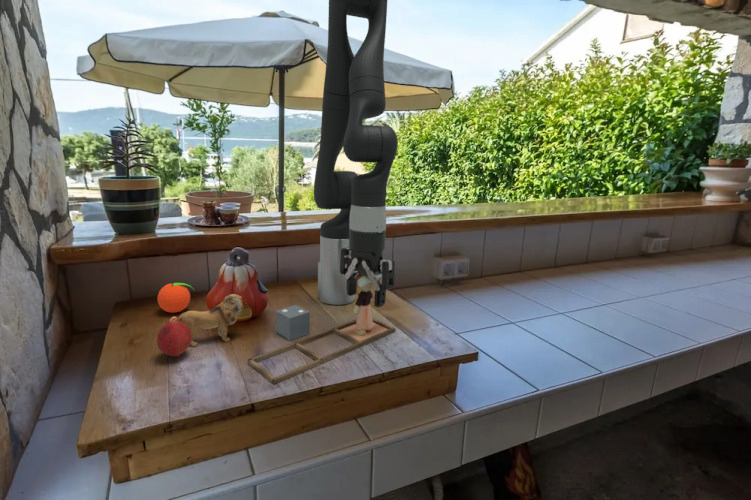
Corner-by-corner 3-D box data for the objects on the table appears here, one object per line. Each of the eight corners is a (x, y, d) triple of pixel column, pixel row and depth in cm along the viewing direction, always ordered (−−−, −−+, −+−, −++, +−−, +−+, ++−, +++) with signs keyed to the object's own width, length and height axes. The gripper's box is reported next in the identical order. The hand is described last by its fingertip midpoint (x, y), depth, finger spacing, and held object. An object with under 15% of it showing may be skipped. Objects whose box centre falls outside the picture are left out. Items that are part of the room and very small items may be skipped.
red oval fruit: (171, 368, 73) (166, 327, 71) (152, 358, 76) (147, 318, 74) (199, 354, 78) (196, 315, 76) (181, 345, 81) (177, 308, 79)
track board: (248, 363, 76) (247, 359, 75) (366, 318, 97) (367, 315, 97) (274, 384, 70) (274, 380, 69) (395, 331, 91) (395, 328, 91)
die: (276, 332, 88) (276, 310, 87) (296, 325, 92) (295, 304, 90) (289, 340, 85) (289, 317, 84) (309, 333, 88) (309, 311, 87)
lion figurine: (241, 327, 90) (239, 289, 87) (247, 338, 85) (245, 297, 83) (166, 342, 82) (162, 300, 80) (169, 354, 78) (164, 310, 76)
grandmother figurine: (367, 339, 86) (369, 282, 83) (349, 336, 87) (351, 279, 84) (377, 324, 93) (379, 271, 90) (361, 321, 94) (363, 269, 91)
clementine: (194, 303, 102) (192, 276, 100) (197, 314, 96) (195, 285, 94) (158, 308, 98) (155, 280, 96) (159, 319, 92) (156, 289, 90)
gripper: (331, 223, 86) (330, 295, 90) (379, 235, 77) (376, 315, 81) (357, 219, 91) (355, 287, 96) (405, 230, 82) (401, 305, 86)
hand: (365, 300), depth 88 cm, fingers open, 8 cm apart
